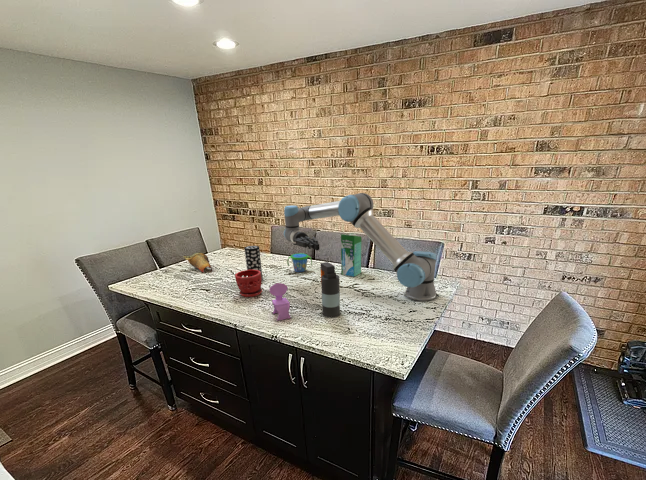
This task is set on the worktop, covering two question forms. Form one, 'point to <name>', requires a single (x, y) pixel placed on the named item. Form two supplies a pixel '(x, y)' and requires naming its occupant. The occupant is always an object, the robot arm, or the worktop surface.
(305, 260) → the snack cup
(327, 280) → the spray bottle
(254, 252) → the white-spotted black cylinder
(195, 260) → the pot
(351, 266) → the milk carton
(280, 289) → the toy chair
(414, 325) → the worktop surface
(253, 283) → the plant pot
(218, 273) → the worktop surface
